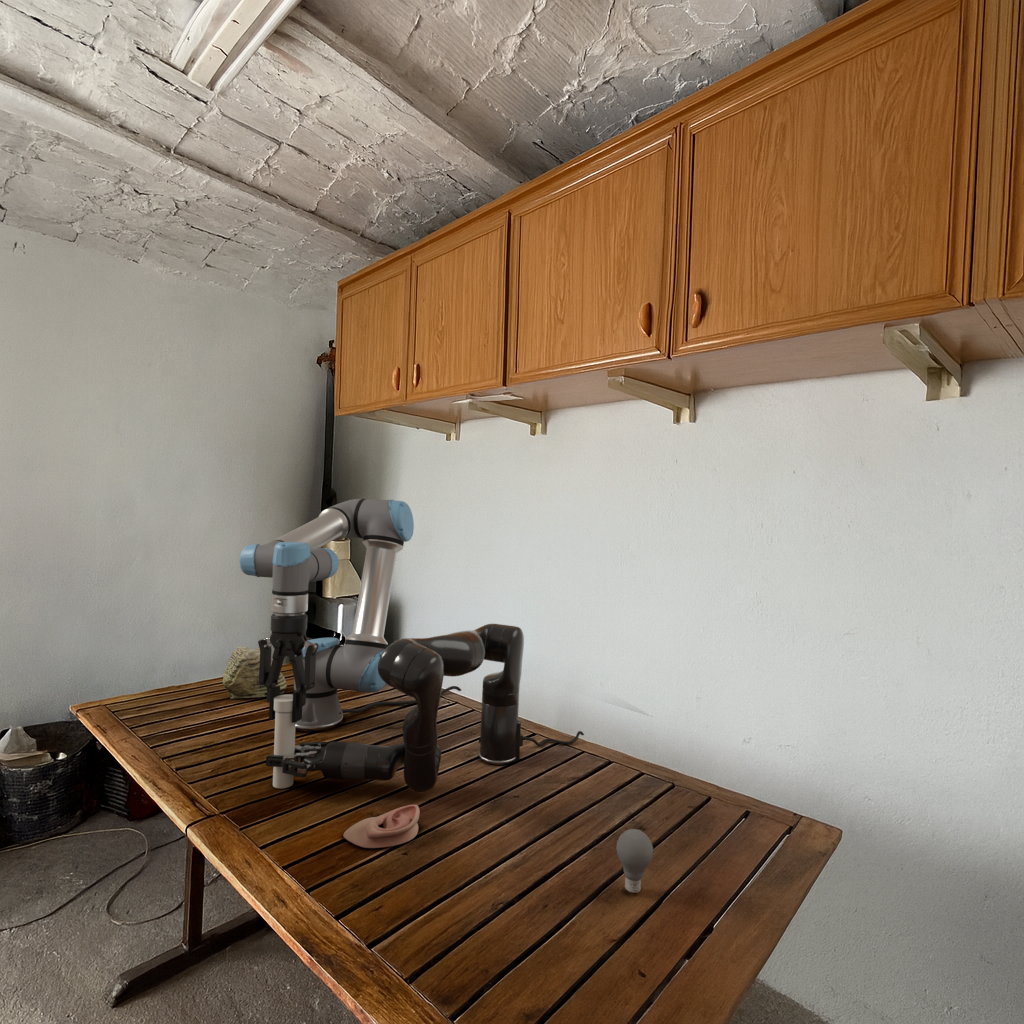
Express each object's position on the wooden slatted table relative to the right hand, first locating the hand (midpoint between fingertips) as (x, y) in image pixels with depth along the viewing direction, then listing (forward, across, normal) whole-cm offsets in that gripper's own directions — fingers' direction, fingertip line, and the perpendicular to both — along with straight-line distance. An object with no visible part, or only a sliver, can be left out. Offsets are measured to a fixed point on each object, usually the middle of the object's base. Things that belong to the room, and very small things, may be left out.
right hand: (271, 755), depth 139 cm
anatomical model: (-29, +17, +6) cm, 34 cm away
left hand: (-3, 0, -8) cm, 9 cm away
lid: (-3, 0, -13) cm, 13 cm away
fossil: (+30, -58, +6) cm, 66 cm away
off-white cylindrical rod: (-3, 0, +6) cm, 7 cm away
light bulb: (-75, +30, +6) cm, 81 cm away
